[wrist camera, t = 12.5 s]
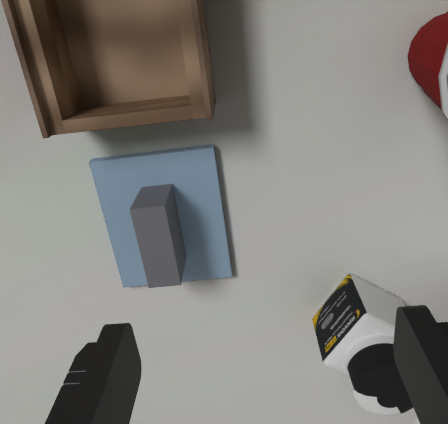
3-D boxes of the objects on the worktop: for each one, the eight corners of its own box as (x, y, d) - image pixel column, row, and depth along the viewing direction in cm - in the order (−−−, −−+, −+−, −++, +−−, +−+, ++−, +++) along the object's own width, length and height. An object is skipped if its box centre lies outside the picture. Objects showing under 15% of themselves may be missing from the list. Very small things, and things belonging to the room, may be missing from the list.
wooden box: (25, -63, 33) (-23, -80, 27) (192, -88, 32) (182, -111, 26) (73, 118, 39) (43, 138, 33) (215, 101, 38) (212, 119, 32)
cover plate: (93, 157, 41) (70, 182, 35) (214, 142, 40) (210, 165, 34) (126, 279, 47) (111, 317, 41) (232, 269, 46) (231, 307, 40)
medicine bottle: (348, 271, 45) (383, 353, 34) (402, 298, 47) (453, 386, 36) (310, 318, 48) (332, 408, 37) (362, 342, 49) (398, 436, 38)
